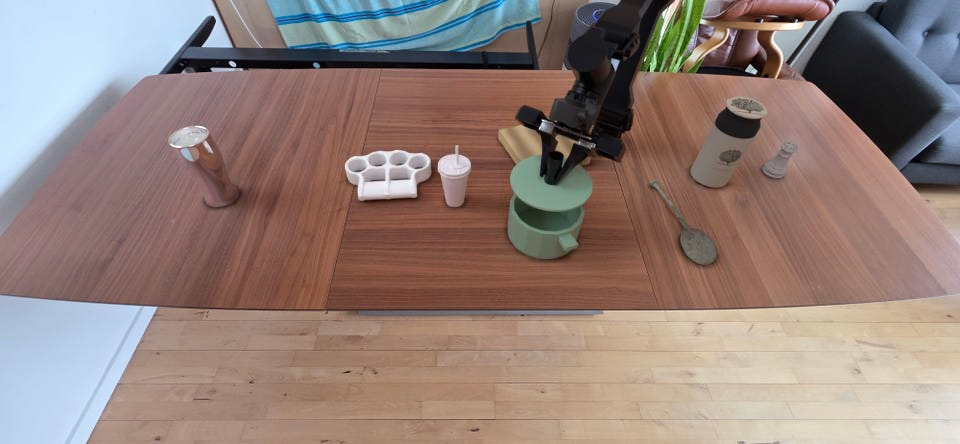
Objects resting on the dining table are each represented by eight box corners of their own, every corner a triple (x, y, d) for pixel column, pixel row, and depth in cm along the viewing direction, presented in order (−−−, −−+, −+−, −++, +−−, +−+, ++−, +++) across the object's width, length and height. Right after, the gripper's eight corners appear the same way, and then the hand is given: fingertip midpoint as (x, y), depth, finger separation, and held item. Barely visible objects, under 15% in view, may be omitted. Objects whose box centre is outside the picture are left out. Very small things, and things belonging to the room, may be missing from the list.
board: (556, 125, 108) (557, 117, 106) (589, 163, 98) (591, 155, 96) (497, 138, 104) (498, 129, 102) (526, 179, 94) (528, 170, 92)
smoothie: (466, 214, 86) (467, 158, 76) (435, 208, 87) (432, 153, 76) (473, 192, 90) (474, 137, 80) (443, 188, 91) (441, 133, 81)
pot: (549, 193, 91) (554, 167, 86) (597, 258, 79) (606, 233, 74) (491, 208, 87) (493, 182, 82) (532, 279, 76) (537, 254, 70)
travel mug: (689, 162, 100) (724, 92, 87) (726, 170, 98) (767, 100, 85) (689, 183, 94) (726, 112, 81) (727, 192, 93) (771, 121, 80)
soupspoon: (687, 269, 79) (719, 266, 80) (696, 258, 76) (728, 255, 78) (639, 186, 93) (666, 184, 94) (644, 174, 90) (672, 173, 92)
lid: (566, 152, 82) (573, 123, 77) (607, 202, 73) (617, 173, 68) (497, 168, 78) (499, 139, 74) (530, 223, 69) (535, 193, 65)
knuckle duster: (343, 205, 87) (350, 160, 96) (433, 200, 88) (430, 156, 98) (340, 193, 84) (347, 148, 94) (432, 188, 86) (429, 144, 96)
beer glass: (248, 190, 89) (218, 129, 78) (224, 212, 84) (189, 151, 73) (221, 182, 90) (188, 121, 79) (196, 204, 86) (157, 142, 75)
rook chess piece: (782, 170, 99) (802, 141, 93) (782, 181, 96) (803, 153, 90) (761, 164, 100) (779, 136, 94) (761, 175, 97) (780, 147, 91)
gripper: (525, 59, 67) (485, 151, 69) (641, 95, 61) (593, 196, 63) (542, 84, 78) (507, 163, 80) (642, 117, 71) (601, 203, 73)
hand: (548, 180), depth 73 cm, fingers closed on lid, 3 cm apart
